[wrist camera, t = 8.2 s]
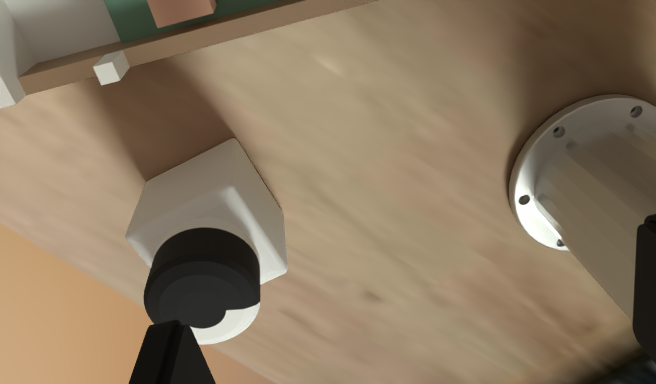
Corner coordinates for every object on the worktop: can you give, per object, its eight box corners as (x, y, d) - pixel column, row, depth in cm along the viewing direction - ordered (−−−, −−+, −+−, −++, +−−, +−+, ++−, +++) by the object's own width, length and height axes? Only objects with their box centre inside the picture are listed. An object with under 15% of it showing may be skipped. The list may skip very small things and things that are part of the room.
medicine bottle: (144, 180, 37) (99, 291, 27) (235, 134, 37) (226, 230, 26) (200, 255, 41) (180, 379, 30) (285, 214, 40) (294, 327, 30)
